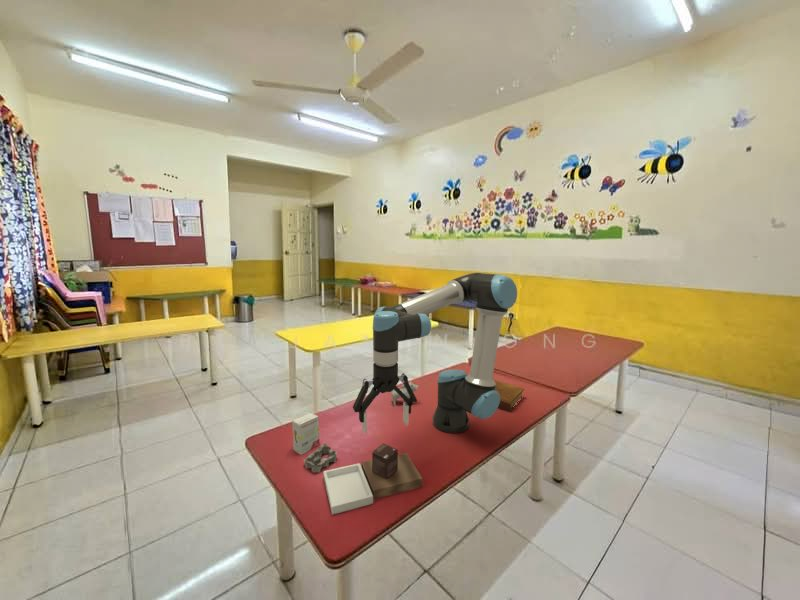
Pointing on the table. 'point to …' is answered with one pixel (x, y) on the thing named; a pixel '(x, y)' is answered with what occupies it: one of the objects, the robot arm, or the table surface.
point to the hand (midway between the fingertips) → (385, 427)
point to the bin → (347, 488)
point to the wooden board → (393, 478)
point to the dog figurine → (396, 395)
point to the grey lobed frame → (317, 456)
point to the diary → (508, 395)
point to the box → (384, 461)
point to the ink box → (305, 433)
